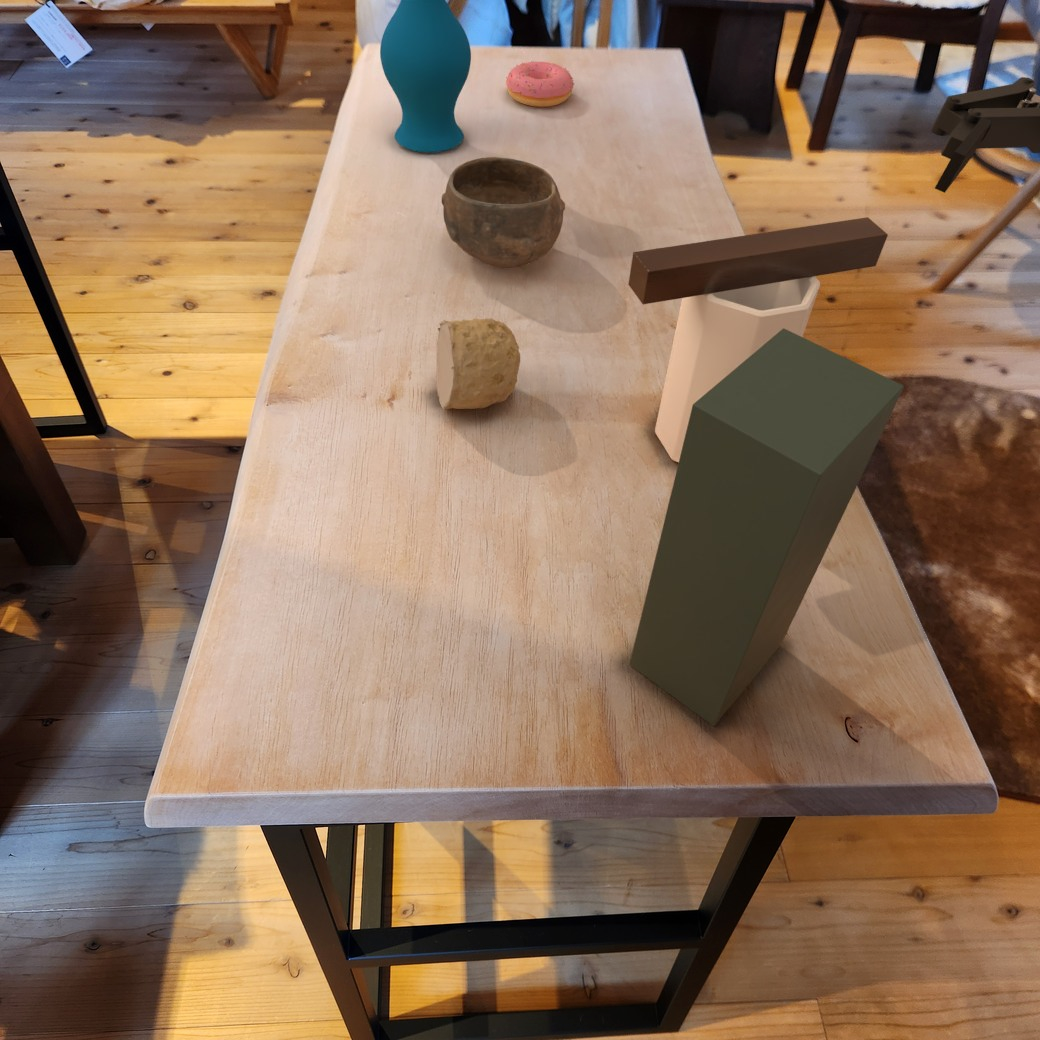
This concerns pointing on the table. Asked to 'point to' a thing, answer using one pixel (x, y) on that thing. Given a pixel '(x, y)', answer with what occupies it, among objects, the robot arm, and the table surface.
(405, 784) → the table surface
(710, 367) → the cup
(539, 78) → the doughnut
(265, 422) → the table surface
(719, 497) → the stand
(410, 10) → the vase
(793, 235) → the rod
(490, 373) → the cut tuber
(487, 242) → the bowl
